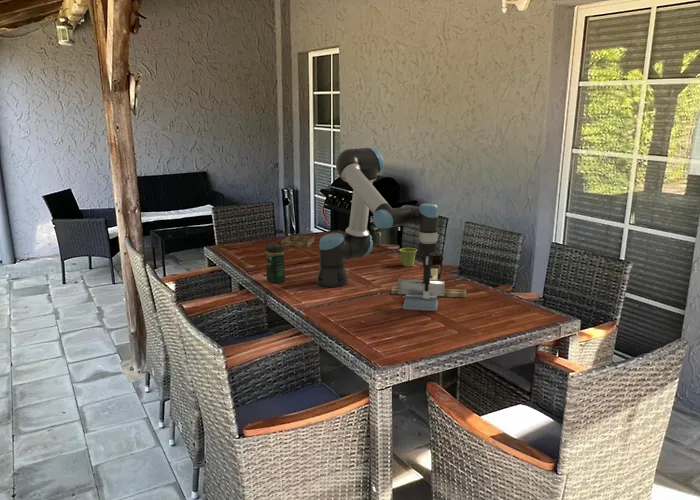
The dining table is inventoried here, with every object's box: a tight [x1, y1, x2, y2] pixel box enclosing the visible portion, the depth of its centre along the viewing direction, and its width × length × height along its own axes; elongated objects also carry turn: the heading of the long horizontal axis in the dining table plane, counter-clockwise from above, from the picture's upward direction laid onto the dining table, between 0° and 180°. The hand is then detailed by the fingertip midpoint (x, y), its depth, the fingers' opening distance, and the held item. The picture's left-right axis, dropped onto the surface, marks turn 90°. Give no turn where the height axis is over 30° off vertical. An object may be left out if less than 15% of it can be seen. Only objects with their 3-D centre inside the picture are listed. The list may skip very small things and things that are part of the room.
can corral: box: [280, 235, 315, 248], centre depth 353 cm, size 17×17×3 cm
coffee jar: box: [265, 242, 286, 284], centre depth 272 cm, size 10×8×19 cm
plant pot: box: [399, 247, 418, 268], centre depth 299 cm, size 9×9×9 cm
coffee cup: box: [431, 252, 444, 281], centre depth 272 cm, size 9×8×13 cm
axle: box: [397, 278, 445, 297], centre depth 234 cm, size 19×6×6 cm, turn 79°
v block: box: [402, 294, 439, 312], centre depth 235 cm, size 14×10×4 cm
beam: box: [391, 268, 467, 298], centre depth 251 cm, size 33×18×10 cm, turn 79°
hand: (426, 295), depth 234 cm, fingers closed on axle, 6 cm apart
